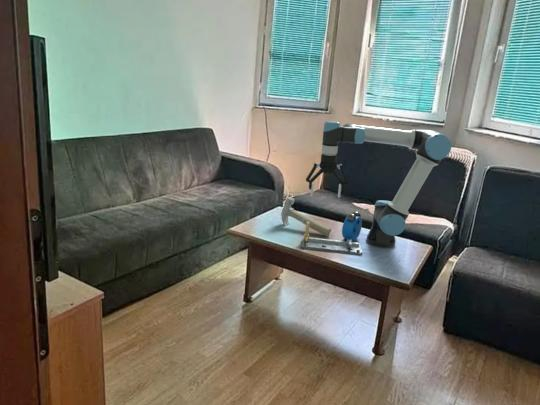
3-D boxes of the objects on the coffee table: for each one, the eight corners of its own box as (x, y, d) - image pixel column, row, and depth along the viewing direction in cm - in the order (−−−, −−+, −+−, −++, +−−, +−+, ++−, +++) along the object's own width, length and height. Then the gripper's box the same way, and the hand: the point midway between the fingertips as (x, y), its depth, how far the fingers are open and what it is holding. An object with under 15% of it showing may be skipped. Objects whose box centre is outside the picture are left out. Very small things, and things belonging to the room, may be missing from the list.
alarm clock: (350, 234, 246) (353, 209, 242) (360, 237, 243) (364, 211, 239) (340, 240, 236) (343, 214, 232) (350, 244, 233) (354, 216, 228)
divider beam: (358, 245, 229) (359, 239, 228) (359, 250, 221) (360, 245, 221) (304, 239, 230) (304, 233, 230) (303, 244, 223) (304, 239, 222)
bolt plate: (359, 246, 230) (360, 243, 229) (362, 255, 219) (362, 251, 219) (302, 240, 232) (302, 237, 231) (301, 248, 221) (301, 244, 221)
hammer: (335, 219, 239) (289, 196, 251) (331, 221, 235) (285, 197, 248) (326, 244, 245) (281, 220, 257) (322, 246, 241) (277, 222, 254)
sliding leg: (308, 238, 230) (310, 221, 228) (308, 244, 223) (310, 226, 220) (303, 238, 231) (305, 220, 228) (303, 243, 223) (305, 225, 220)
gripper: (353, 154, 217) (349, 195, 223) (302, 151, 217) (299, 193, 223) (356, 156, 210) (351, 200, 216) (303, 153, 210) (300, 197, 216)
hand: (325, 196), depth 219 cm, fingers open, 13 cm apart
